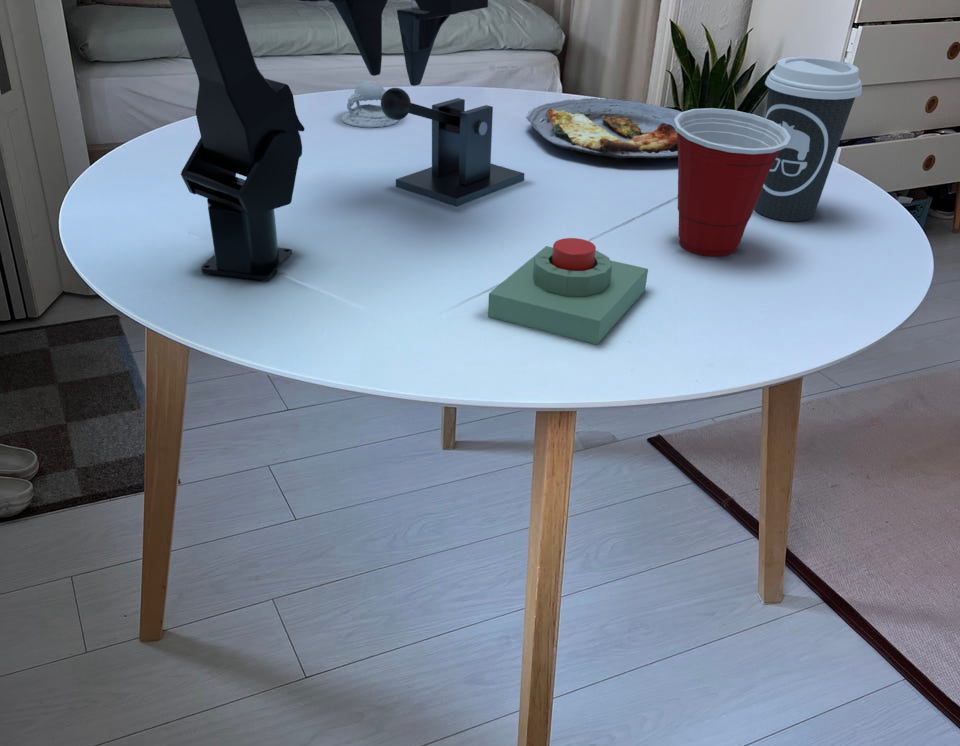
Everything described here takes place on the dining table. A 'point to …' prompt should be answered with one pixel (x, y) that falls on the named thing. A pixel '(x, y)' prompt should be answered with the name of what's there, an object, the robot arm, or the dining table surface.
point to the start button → (573, 254)
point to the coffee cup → (805, 131)
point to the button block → (568, 296)
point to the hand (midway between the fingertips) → (395, 79)
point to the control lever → (417, 110)
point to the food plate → (608, 127)
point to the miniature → (367, 107)
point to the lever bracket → (461, 160)
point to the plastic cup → (721, 175)
